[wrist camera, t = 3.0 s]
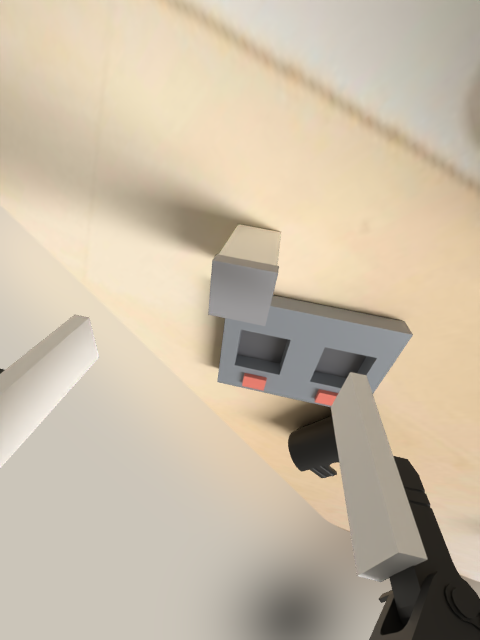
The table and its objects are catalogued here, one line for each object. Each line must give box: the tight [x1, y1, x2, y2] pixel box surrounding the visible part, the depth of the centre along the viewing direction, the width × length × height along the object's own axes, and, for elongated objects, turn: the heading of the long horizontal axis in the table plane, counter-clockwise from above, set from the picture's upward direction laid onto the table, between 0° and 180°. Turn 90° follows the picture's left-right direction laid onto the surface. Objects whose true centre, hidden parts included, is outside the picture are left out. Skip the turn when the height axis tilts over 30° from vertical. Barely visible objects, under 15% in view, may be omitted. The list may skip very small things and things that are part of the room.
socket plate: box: [217, 295, 413, 407], centre depth 32 cm, size 14×20×3 cm
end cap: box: [288, 416, 339, 478], centre depth 39 cm, size 10×7×7 cm
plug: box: [208, 224, 281, 326], centre depth 23 cm, size 5×5×10 cm
